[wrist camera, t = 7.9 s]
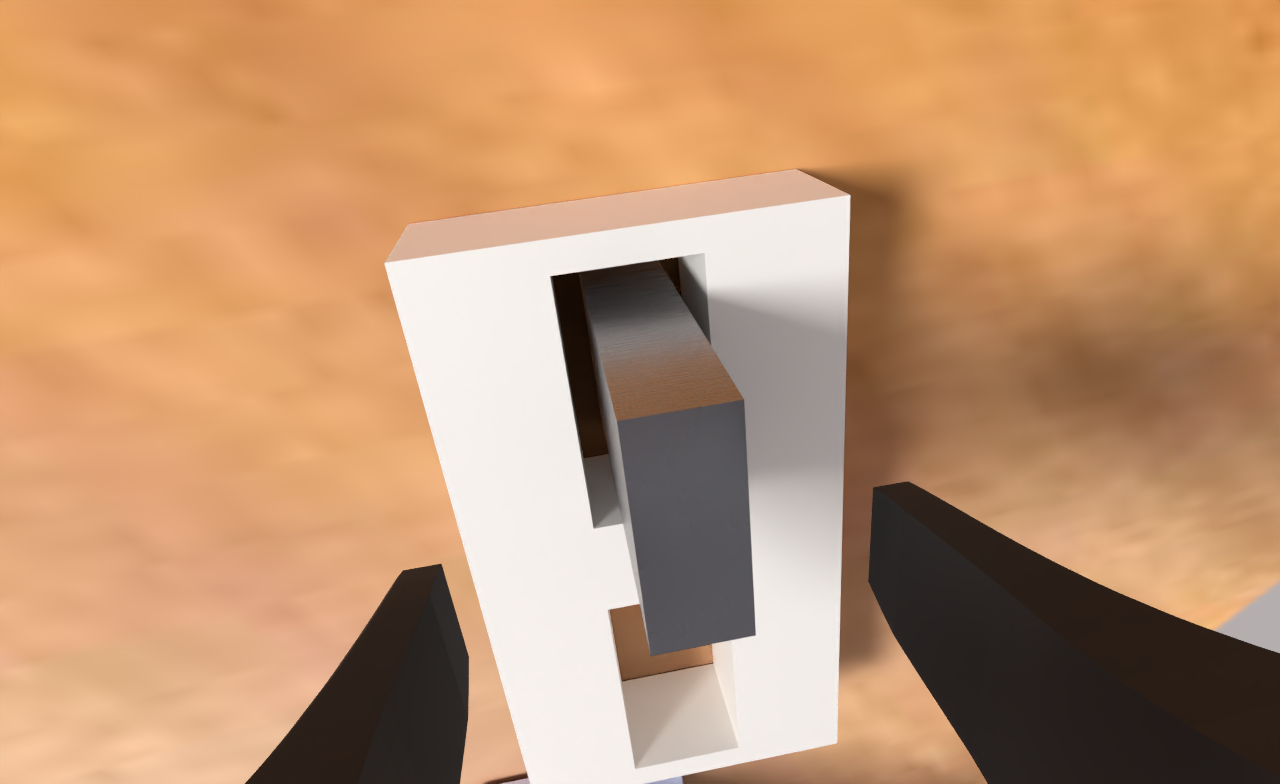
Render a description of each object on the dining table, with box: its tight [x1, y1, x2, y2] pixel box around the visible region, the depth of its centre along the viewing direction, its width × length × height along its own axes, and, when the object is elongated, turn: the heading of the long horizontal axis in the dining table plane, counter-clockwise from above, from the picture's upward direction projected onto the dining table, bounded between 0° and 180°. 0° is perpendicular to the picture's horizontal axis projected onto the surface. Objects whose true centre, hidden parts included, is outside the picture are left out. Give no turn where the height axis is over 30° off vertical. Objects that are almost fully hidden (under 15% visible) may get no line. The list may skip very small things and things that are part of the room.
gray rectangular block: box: [579, 260, 756, 656], centre depth 16 cm, size 5×2×9 cm, turn 6°
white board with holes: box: [384, 169, 850, 784], centre depth 21 cm, size 18×10×4 cm, turn 6°
